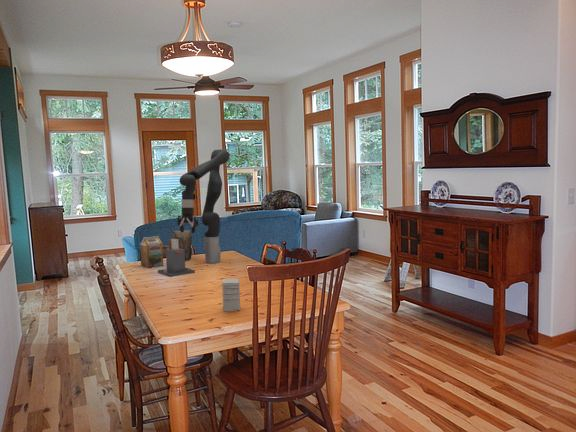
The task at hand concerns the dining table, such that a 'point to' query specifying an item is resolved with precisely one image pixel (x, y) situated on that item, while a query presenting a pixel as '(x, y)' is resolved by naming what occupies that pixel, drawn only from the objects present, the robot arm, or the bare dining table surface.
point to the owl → (184, 242)
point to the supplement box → (231, 295)
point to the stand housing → (175, 263)
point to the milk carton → (151, 252)
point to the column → (175, 244)
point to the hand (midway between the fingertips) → (187, 232)
